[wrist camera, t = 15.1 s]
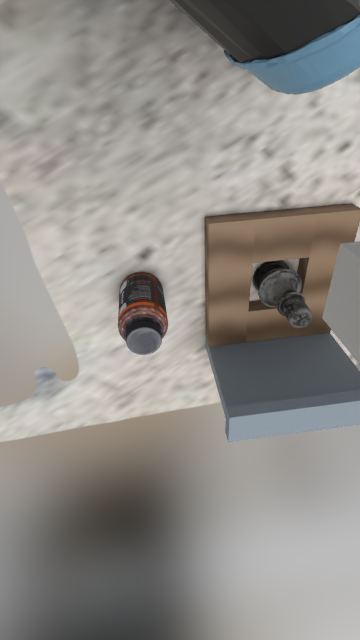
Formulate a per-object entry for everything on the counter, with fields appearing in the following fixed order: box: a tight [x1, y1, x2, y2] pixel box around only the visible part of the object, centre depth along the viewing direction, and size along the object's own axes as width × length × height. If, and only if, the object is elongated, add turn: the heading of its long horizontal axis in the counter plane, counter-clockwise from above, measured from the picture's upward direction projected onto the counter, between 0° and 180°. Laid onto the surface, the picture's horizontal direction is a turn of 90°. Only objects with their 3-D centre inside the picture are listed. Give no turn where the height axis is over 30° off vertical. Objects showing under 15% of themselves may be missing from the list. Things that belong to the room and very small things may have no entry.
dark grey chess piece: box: [253, 260, 313, 328], centre depth 43 cm, size 6×6×12 cm
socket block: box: [205, 204, 360, 347], centre depth 47 cm, size 19×19×2 cm
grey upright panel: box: [206, 333, 360, 442], centre depth 46 cm, size 4×20×18 cm, turn 93°
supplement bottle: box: [118, 273, 168, 355], centre depth 42 cm, size 6×6×11 cm
